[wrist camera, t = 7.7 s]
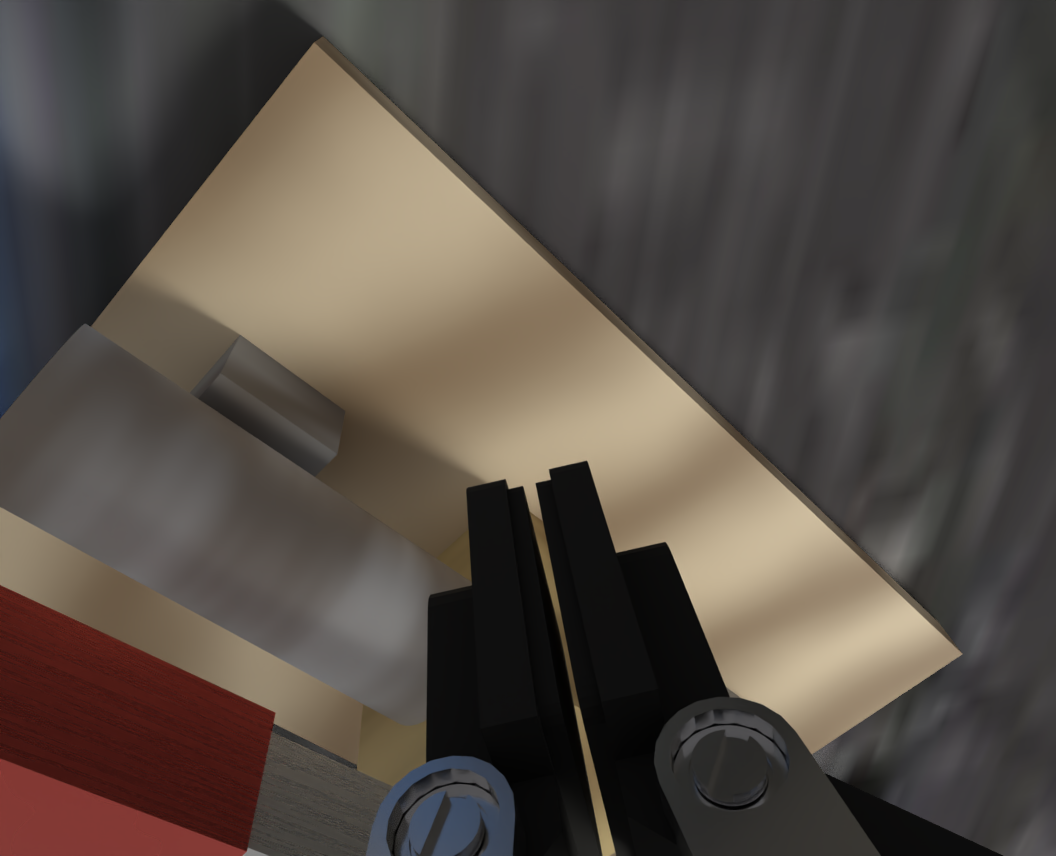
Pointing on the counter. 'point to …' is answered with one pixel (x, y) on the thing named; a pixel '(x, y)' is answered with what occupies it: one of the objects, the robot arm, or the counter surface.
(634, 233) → the counter surface
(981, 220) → the counter surface
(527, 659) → the robot arm
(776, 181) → the counter surface
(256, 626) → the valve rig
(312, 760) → the valve lever
